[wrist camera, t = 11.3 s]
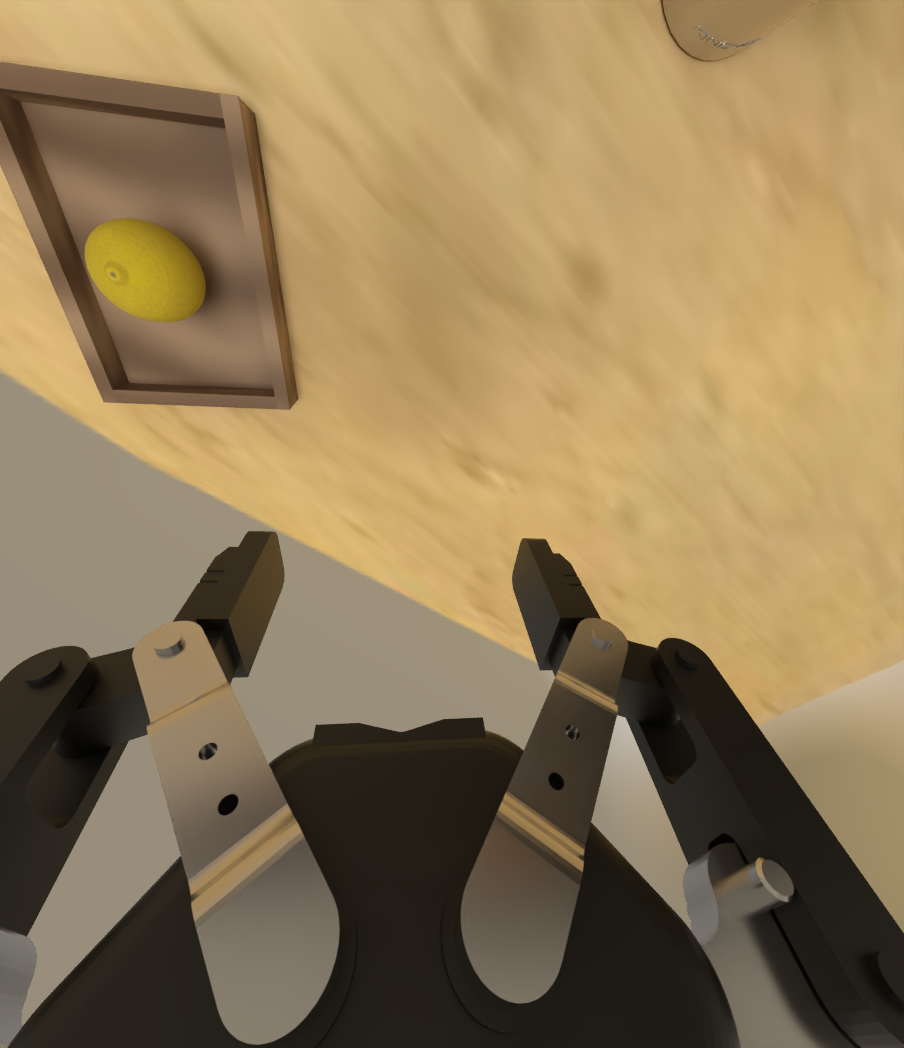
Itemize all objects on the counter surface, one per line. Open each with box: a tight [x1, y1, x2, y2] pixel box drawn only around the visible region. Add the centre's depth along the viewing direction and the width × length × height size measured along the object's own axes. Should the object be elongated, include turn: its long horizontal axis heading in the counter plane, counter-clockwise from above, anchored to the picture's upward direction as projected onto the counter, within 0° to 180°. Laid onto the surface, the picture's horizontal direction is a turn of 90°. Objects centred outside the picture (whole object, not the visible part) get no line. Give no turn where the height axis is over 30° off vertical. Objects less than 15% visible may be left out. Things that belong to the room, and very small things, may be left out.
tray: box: [0, 62, 298, 410], centre depth 27 cm, size 18×14×3 cm
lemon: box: [85, 218, 206, 323], centre depth 24 cm, size 6×6×8 cm
